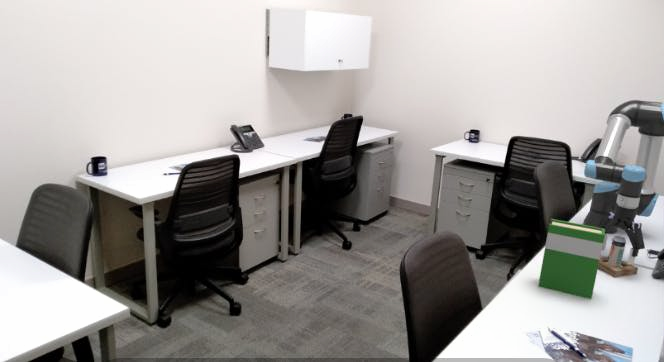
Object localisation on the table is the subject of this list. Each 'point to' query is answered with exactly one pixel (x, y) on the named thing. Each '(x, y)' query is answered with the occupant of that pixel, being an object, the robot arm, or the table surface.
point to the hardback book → (571, 258)
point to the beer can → (616, 251)
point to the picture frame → (616, 272)
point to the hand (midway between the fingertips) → (615, 256)
